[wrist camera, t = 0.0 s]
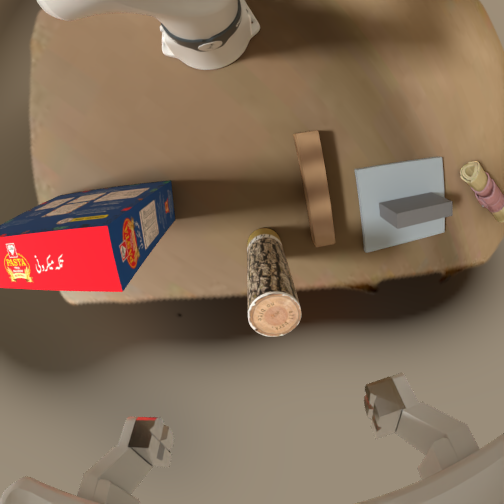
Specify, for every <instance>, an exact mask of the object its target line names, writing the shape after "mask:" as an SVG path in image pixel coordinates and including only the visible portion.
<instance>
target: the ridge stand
mask: <svg viewBox="0 0 504 504" xmlns="http://www.w3.org/2000/svg"><path fill="white" fill-rule="evenodd" d="M355 176H356V183H357V190H358V197H359V205H360V213H361V223H362V233H363V244H364V251H365V252H366V253H367V252H371V251H375V250H379V249H383V248H387V247H391V246H395V245H399V244H402V243H406V242H410V241H414V240H417V239H421V238H425V237H429V236H432V235H436V234H440V233H443V232H444V231H445V217H448V216H452V201H450V200H448V199H446V198H444V177H443V163H442V157H432V158H424V159H417V160H409V161H403V162H396V163H389V164H383V165H377V166H371V167H365V168H359V169H355Z"/></svg>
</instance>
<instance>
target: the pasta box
mask: <svg viewBox="0 0 504 504" xmlns="http://www.w3.org/2000/svg"><path fill="white" fill-rule="evenodd" d="M174 221H175V213H174V204H173V195H172V185H171V181H161V182H151V183H142V184H134V185H126V186H118V187H111V188H103V189H97V190H90V191H84V192H78V193H72V194H66V195H60V196H58V197H55V198H53V199H51V200H49V201H47V202H45V203H42V204H40V205H38V206H36V207H34V208H32V209H30V210H28V211H26V212H24V213H22V214H20V215H18V216H17V217H15V218H13V219H11V220H9V221H7V222H5V223H4V224H2V225H0V288H15V289H35V290H61V291H105V292H123V290H124V289H125V288H126V286H127V285H128V283H129V282H130V280H131V279H132V277H133V276H134V275H135V273H136V272H137V270H138V269H139V267H140V266H141V265H142V263H143V262H144V261H145V259H146V258H147V256H148V255H149V254H150V252H151V251H152V250H153V248H154V247H155V246H156V244H157V243H158V242H159V240H160V239H161V238H162V236H163V235H164V234H165V232H166V231H167V230H168V228H169V227H170V226H171V224H172V223H173V222H174Z"/></svg>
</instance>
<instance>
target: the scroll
mask: <svg viewBox="0 0 504 504" xmlns="http://www.w3.org/2000/svg"><path fill="white" fill-rule="evenodd" d="M460 175H461V177H460V178H462V179H463V180H464V181H465V182H466V183H467V184H468V185H469V186H471V189H472V190H473V191H474V192H475V196H476V198H477V199H478V201H479V203H480V204H481V205H482V207H485V208H487V209H488V210H489V211H490V212H492V214H493V216H494V217H495V219H496V220H497V221H498V222H504V195H503V194H502V192H501V191H500V189H499V187H498V186H497V185H496V183H495V182H494V180H493V179H491V178H490V176H489V174H488V173H487V172H484V170H483V168H482V167H481V165H480V164H479V162H478V161H473V162H469V164H466V165H464V166H463V167H462V168H461V171H460Z"/></svg>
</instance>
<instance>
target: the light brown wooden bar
mask: <svg viewBox="0 0 504 504" xmlns="http://www.w3.org/2000/svg"><path fill="white" fill-rule="evenodd" d="M293 136H294V141H295V146H296V151H297V156H298V161H299V166H300V171H301V177H302V182H303V187H304V193H305V199H306V205H307V211H308V217H309V223H310V230H311V236H312V241H313V243H314V245H315V247H316V248H317V247H322V246H326V245H331V244H336V243H335V234H334V226H333V218H332V211H331V203H330V196H329V190H328V183H327V177H326V171H325V165H324V159H323V153H322V148H321V143H320V137H319V132H318V130H313V131H307V132H301V133H295V134H293Z"/></svg>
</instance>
